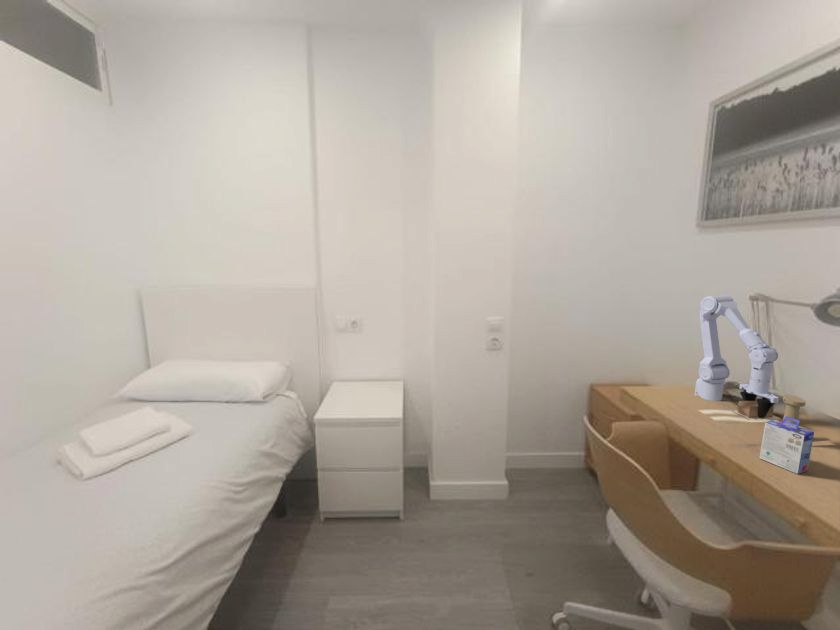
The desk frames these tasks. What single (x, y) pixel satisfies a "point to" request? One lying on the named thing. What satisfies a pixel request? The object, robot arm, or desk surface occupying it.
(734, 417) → the sanding board
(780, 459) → the ink cartridge box
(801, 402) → the handle
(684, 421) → the desk surface
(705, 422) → the desk surface
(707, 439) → the desk surface
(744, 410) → the sanding block
